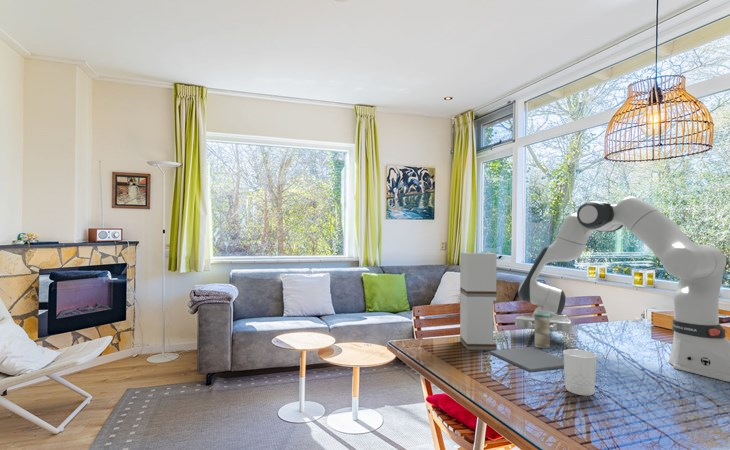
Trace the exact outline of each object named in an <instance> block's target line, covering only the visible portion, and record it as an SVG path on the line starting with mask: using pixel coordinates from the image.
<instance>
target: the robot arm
mask: <svg viewBox="0 0 730 450" xmlns="http://www.w3.org/2000/svg"><path fill="white" fill-rule="evenodd" d="M623 227H625V228H626V229H627V230H628V231H629V232H630V233H631V234H633V235H634V237H636V238H637V239H639V240H640V241H641V242H642V243H643V244H645V246H647V247H648V248H649V249H650V250H651V252H653V254H654V255H655V257H657V259H658V260H659V261H660V263H661V264H662V266H663V269H664V270H665V271H666V272H667V273H668V274H669V275H671V276H672V277H676V278H678V279H679V282H678V284H677V288H676V290H675V293H673V319H672V326H671V327H672V329H671V330H672V335H673V339H672V345H671V351H670V352H671V353H670V355H669V357H668V358H669V359H668V363H669V364H670V365H672V366H673V368H674V370H675V369H676V370H680V371H683V372H687V373H692V374H696V375H700V376H704V377H708V378H710V379H711V378H712V379H715V380H720V381H724V382H728V383H730V340H729V339H728V338H727V336H726V333H730V331H729V330H730V328H723V327H722V325H721V324H720V322H719V321H720V319H719V315H720V314H719V310H720V309H719V300H720V298H719V297H720V292H721V287H722V281H723V276H724V270H725V269H726V266H727V258H726V256H725V254H724V253H723V252H722V251H721V250H719V249H718V248H716V247H714V246H712V245H708V244H697V243H695V242H694V241H692V240H691V239H690V238H689V237H688V236H687V235H686V234H685V233H684V232H683V230H682V229H680V226H679V224H677V223H675V222H674V221H673V220H671V218H669V217H668V216H667V215H665V214H663V212H661V211H659V209H657V208H656V207H654V206H652V205H651V204H649V203H648V202H646V201H644V200H642V199H640V198H638V197H636V196H627V197H624V198H622V199H621V200H619V201H618V202H617V203H616V204H611V203H609V202H604V201H598V200H591V201H587V202H584V203H582V204H581V205H580V206H579V208H578V209H577V211H576V213H571V214H570V213H569V214H568V215H567V216H566V217H565V218H564V220H563V222H562V223H561V226H560V228H559V230H558V232H557V235H556V238H555V240H554V241H553V242H552V243H551V244H550V245H545V246H544V247H543V248H542V250H541V252H539V254H538V256H537V258H536V259H535V261H534V263H533V264H532V267H530V270H529V272H528V274H527V275H526V277H525V278H524V280H522V282H521V283H520V285H519V287H518V293H517V294H518V296H519V298H520V299H521V301H522V302H525V303H529V304H532V305H535V306H538V307H536V308H535V309H534V311H533V313H532V316H531V315H530V316H529V315H518V316H516V317H515V318H514V326H515V327H516V328H522V329H531V330H535V312H537V313H549V314H550V326H549V328H550V329H549V331H550V333H552V332H561V333H562V332H564V333H572V332H573V325H572V324H573V323H572V321H571V319H570V318H568V315H567V314H563V311H564V310H565V305H566V301H567V300H566V298H567V296H566V294H565V291H564V290H562V289H561V288H558V287H554V286H552V285H548V284H545V283H542V282H540V281H538V278H539V275H540V274H541V272H542V271H543V269H544V267H545V265H547V264H549V263H552V262H553V263H554V262H556V263H557V262H570V261H574V260H577V259H578V258H580V257H581V256H582V254H583V253H584V250H585V248H586V246H587V243H588V241H589V237H590V235H591V234H592V233H594V232H600V233H601V232H602V233H603V232H606V233H611V232H616V231H619V230H621V229H622V228H623Z"/></svg>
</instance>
